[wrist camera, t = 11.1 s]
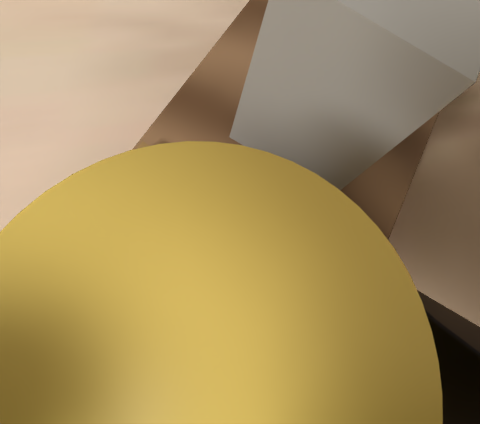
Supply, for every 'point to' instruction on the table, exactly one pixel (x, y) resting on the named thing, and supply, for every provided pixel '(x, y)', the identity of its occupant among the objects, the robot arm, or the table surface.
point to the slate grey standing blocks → (353, 78)
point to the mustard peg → (208, 299)
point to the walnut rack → (225, 107)
